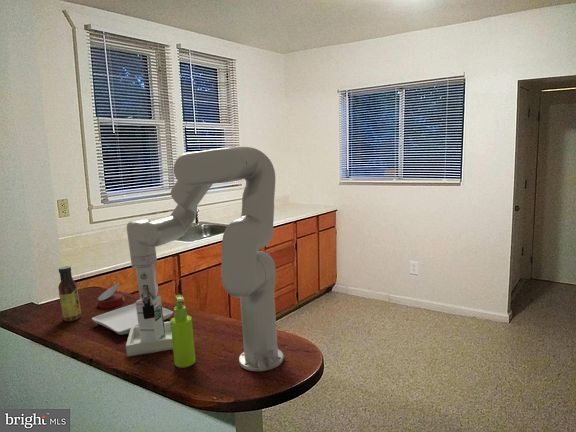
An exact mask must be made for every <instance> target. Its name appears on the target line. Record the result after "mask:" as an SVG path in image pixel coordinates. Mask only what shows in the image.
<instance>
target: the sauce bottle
mask: <svg viewBox="0 0 576 432" xmlns="http://www.w3.org/2000/svg"><path fill="white" fill-rule="evenodd" d="M58 273H59V277H60V281H59V282H60V283H59V284H58V293H59V294H58V295H59V296H58V297H59V303H60V309H61V313H62V318H63V321H65V322H68V323H69V322H74V321H77V320H80V318H81V317H82V309H81V303H80V302H81V301H80V295H79V290H78V286H77V283H76V282H75V281H74V278H73V276H72V267H71V266H62V267H59V268H58Z"/></svg>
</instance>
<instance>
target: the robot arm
mask: <svg viewBox="0 0 576 432" xmlns="http://www.w3.org/2000/svg"><path fill="white" fill-rule="evenodd" d="M173 174H174V177H175V179H176V180H177V181H176V182H175V183H174V185H173V186H172V188H171V190H170V195H171V198H172V199H173V201H174V203H176V206H175V208H174V210H172V212H171V214H169V216H167V217H164V218H163V217H162V218H159V219H156V220H153V221H151V220H149V219H143V218H142V219H134V220H131V221H128V223H127V224H126V233H127V239H128V240H127V241H128V248H129V255H130V263H131V267H132V268H135V271H136V272H135V273H136V281H137V287H138V293H139V299H142V304H143V306H142V308H143V316H144V319H149V318H154V317H155V313H154V305H152V297H153V296H154V297H156V296H157V295H158V291H159V285H158V279H157V271H156V267H155V265H156V264H157V263H158V260H157V259H158V258H157V251H156V247H160V246H163V245H166V244H167V243H168V244H169V243H170V242H174V241H177V240H178V239H181V238H182V237H183V236H184V235H185V234H186V233H187V231H188V230H189V229H190V227H191V226H192V225H193V223H194V222H195V220H196V217H197V212H198V205H199V204H200V203H201V201H202V200H203V198H204V197H205V195H206V194H207V193H208V191H209V190H210V189H211V187H212V186H213V185H215V184H223V183H226V184H227V183H232V182H237V181H242V180H245V185H244V189H243V193H242V199H241V215H240V217H239V218H237V219H234V220H233V221H231V222H230V223H228V225H227V226H226V228H225V229H224V232H223V235H222V240H221V269H220V270H221V272H220V273H221V281H222V286H223V288H224V289H225V291H226V292H227V294H228V295H230V296H232V297H233V298H238V299H240V300H239V301H240V315H241V317H240V318H241V329H242V342H243V352H242V353H241V354H240V355H239V357H238V362H239V366H240V367H241V368H243V369H245V370H247V371H251V372H266V371H271V370H274V369H275V368H277V367H279V366H280V365H282V363H283V362H284V353H283V352H282V351H281V349H279V348H278V335H277V319H276V315H277V314H276V298H275V290H276V289H275V288H276V287H275V285H276V275H277V274H276V273H277V271H276V263H275V261H274V259H273V257H272V256H271V255H270V254H269V253H268V252H266V251H263V250H261V249H264V248H265V247H266V246H268V245H269V243H271V240H272V239H273V235H274V219H275V218H274V217H275V216H274V215H275V192H276V171H275V167H274V164H273V163H272V160H271V159H270V158H269V157H268V155H267V154H265V153H264V152H263V151H261V150H260V149H257V148H256V147H255V148H254V147H252V146H250V147H249V146H235V147H220V148H215V149H214V148H213V149H208V150H207V149H206V150H200V151H192V152H189V151H188V152H185V153H182V154H180V155H179V157H177V159H176V160H175V162H174V165H173ZM149 299H150V300H149Z"/></svg>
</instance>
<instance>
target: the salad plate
mask: <svg viewBox="0 0 576 432" xmlns="http://www.w3.org/2000/svg"><path fill="white" fill-rule="evenodd" d="M162 312H163V320H164V321H165V320H167V319H168V318H170V317H172V315H174V310H170V309H168V308H165V307H163V306H162ZM91 320H92V321H93V322H94V323H96V324H98V325H100V326H103V327H105V328H106V329H108V330H111V331H113V332H115V333H116V334H117V335H121V336H123V335H129V333H130V329H131V327H134V326H138V318H137V311H136V303H135V302H134V303H132V304H129V305H126V306H123V307H120V308H116V309H114V310H113V309H112V310H111V311H108V312H105V313H102V314H99V315H96V316H94V317H92V318H91Z"/></svg>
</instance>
